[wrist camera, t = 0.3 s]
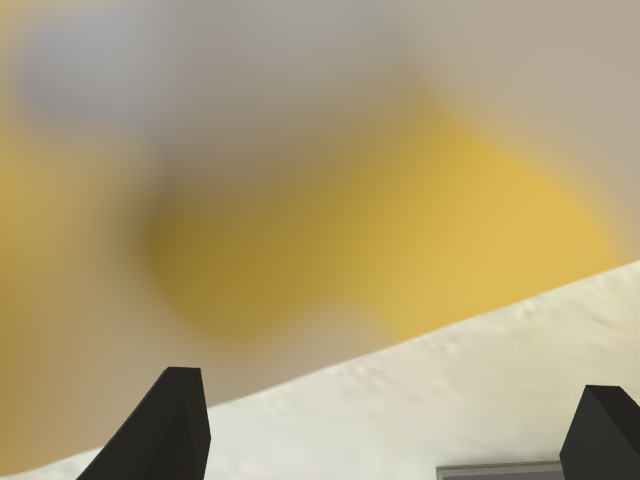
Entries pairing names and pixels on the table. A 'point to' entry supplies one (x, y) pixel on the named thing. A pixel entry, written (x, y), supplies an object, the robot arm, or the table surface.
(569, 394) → the table surface
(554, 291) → the table surface
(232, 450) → the table surface
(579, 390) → the table surface
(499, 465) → the tray
